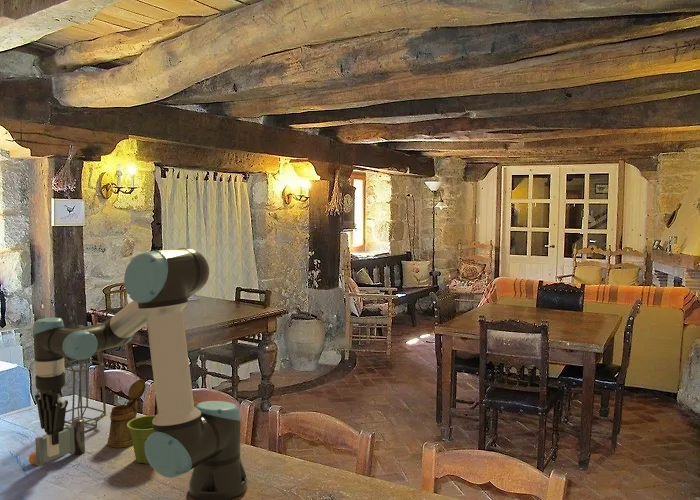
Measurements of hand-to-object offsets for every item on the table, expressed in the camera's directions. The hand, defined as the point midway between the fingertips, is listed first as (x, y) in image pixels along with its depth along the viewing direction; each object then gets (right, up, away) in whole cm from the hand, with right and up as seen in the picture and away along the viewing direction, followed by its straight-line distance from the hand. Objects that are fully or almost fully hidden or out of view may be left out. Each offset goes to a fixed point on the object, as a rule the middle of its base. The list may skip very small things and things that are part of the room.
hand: (53, 454), depth 174 cm
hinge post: (+3, -3, +11) cm, 12 cm away
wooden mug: (+14, -2, +21) cm, 25 cm away
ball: (-8, -1, +3) cm, 8 cm away
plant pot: (+25, -4, +7) cm, 26 cm away
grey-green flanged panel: (-1, -3, +4) cm, 5 cm away
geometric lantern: (-5, -2, +29) cm, 30 cm away
